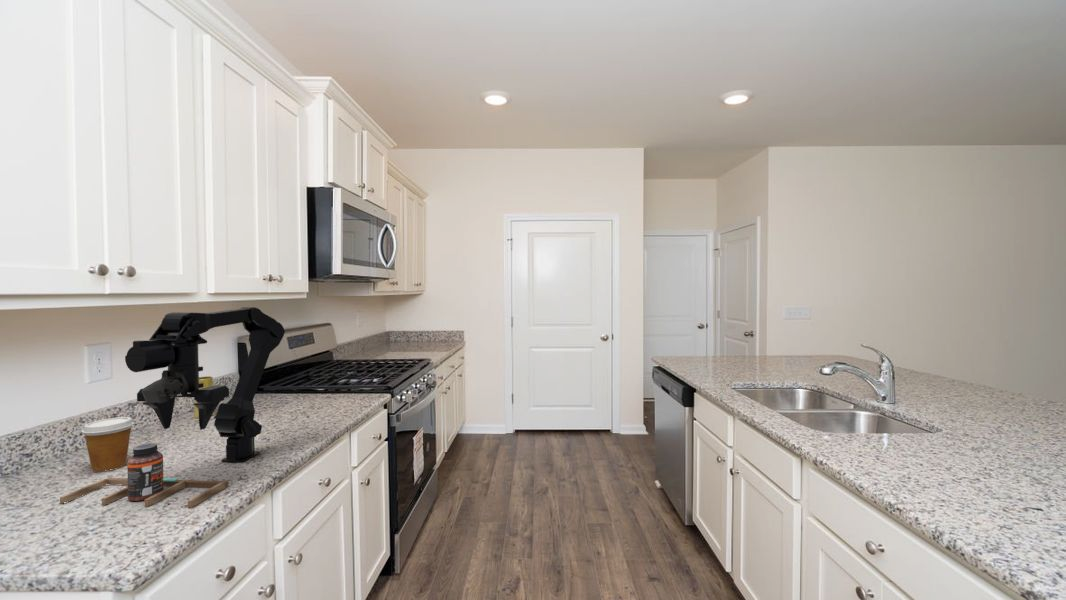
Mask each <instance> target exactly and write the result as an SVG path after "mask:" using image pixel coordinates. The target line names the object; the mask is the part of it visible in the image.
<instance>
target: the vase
mask: <svg viewBox="0 0 1066 600" xmlns="http://www.w3.org/2000/svg"><path fill="white" fill-rule="evenodd" d="M199 383H203V387H202V388H205V387H209V386H214V385H213V376H210V375H209V376H199ZM202 388H199V389H202ZM195 403H198V402H197V401H196V400H195V399H194V404H195ZM194 404H193V405H194ZM215 415H216V413H215V411H214V412H213V414H212V416H211V417H214V416H215ZM193 418H194V419H199V411H198V408H197V407H196V406H195V405H194V410H193Z"/></svg>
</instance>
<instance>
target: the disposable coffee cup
mask: <svg viewBox="0 0 1066 600" xmlns="http://www.w3.org/2000/svg"><path fill="white" fill-rule="evenodd" d="M133 425H134V421H132V418H131V417H127V416H122V417H121V416H120V417H110V418H104V419H99V420H95V421H91V422H88V423H86V424H85V425H84V427H83V429H81V433H82V434H83V435H84V439H85V443H86V449H87V453H88V457H89V458H88V459H89V463H90V468H91V471H92V470H93V471H105V470H110V469H114V470H116V469H115V468H117V469H119V468H118V467H120V468H122V467H124V466H126V465H127V461H128V460H127V459H128V451H129V445H130V438H131V432H132V431H131V430H132V427H133ZM123 465H124V466H123ZM121 466H122V467H121ZM110 471H111V470H110ZM105 472H106V471H105Z"/></svg>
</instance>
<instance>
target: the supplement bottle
mask: <svg viewBox="0 0 1066 600" xmlns="http://www.w3.org/2000/svg"><path fill="white" fill-rule="evenodd" d="M132 450H133V451H132V454H133V456H131V457H129V458H128V460H127V463H126V465H127V479H128V486H127V487H128V495H127V499H128V500H129V501H130V502H132V501H133V502H140V501H144V500H145V499H147V498H149V497H151V496H153V495H155V494H157V493H159V492H161V491H163V490H164V487H163V478H164V454H163V453H162V452H160V451H158V444H157V443H155V442H152V443H143V444H140V445H137V446H134V447H133V449H132Z"/></svg>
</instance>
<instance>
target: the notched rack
mask: <svg viewBox="0 0 1066 600" xmlns="http://www.w3.org/2000/svg"><path fill="white" fill-rule="evenodd" d="M229 482H230V481H229V480H227V481H226V480H199V479H198V480H192V479H190V480H189V479H188V480H187V479H179V478H175V477H173V478H171V477H163V488H164V487H166V488H164V489H163V491H161V492H159V493H157V494H155V495H153V496H151V497H149V498H147V499H145V500H143V502H144V507H145V508H146V507H147V508H148V507H151V506H152V505H154V504H156V503H158V502H160V501H162V500H163V499H166V498H168V497H169V496H171V495H174V494H175V493H177V492H179V491H182V490H183V489H185V488H205V489H207V490H205V491H203V492H201V493H199V494H198V495H196V496H195V497H192V498H190V499H189V500H188V501H187V508H188V509H192V508H194V507H195V506H198V505H199V504H201V503H203V502H204V501H206V500H208V499H209V498H212V496H215V495H216V494H219V492H221V491H224V490H225V489H226V488H228V487H229ZM106 484H122V485H121V486H126V485H128V478H124V477H123V478H122V477H121V478H120V477H119V478H117V477H109V478H103V479H100V480H98V481H96V482H94V483H91V484H89V485H86V486H83V487H81V488H79V489H76V490H74V491H71V492H69V493H67V494H65V495H62V496H60V497H59V504H60V503H64V502H67V501H70V500H72V501H74V500H76V499H75V498H77V497H79V496H81V497H83V496H82V495H84V494H86V495H88V494H90V493H89V492H91V493H93V492H95V491H97V490H96V489H98V488H100V487H102V486H105V485H106ZM105 487H106V486H105ZM102 488H103V487H102ZM100 489H101V488H100ZM94 490H95V491H94ZM98 490H99V489H98ZM92 491H93V492H92ZM87 493H88V494H87ZM84 496H85V495H84ZM124 496H125V497H128V486H126V487H124V488H122V489H120V490H117V491H116V492H113V493H111V494H109V495H106V496H104V497H102V498H101V506H107V505H106V504H108V503H110V504H112V503H114V502H116V501H118V500H120V499H122V498H124ZM79 498H80V497H79ZM73 499H74V500H73ZM77 499H78V498H77ZM115 500H116V501H115ZM113 501H114V502H113ZM70 502H71V501H70ZM111 502H112V503H111ZM67 503H68V502H67ZM108 505H109V504H108Z"/></svg>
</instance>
